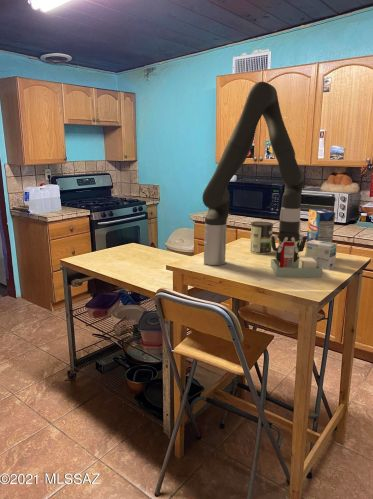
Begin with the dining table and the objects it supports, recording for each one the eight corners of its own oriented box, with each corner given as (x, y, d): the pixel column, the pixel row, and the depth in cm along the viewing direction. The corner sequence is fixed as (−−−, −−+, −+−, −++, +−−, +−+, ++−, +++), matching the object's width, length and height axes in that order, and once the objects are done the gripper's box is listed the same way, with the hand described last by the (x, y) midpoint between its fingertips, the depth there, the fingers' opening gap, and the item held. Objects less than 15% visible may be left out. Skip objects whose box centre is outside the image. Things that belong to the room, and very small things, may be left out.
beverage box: (315, 262, 170) (320, 212, 164) (305, 255, 180) (309, 209, 175) (330, 262, 171) (335, 212, 165) (319, 255, 181) (323, 208, 176)
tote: (276, 277, 148) (277, 268, 148) (270, 268, 161) (271, 258, 160) (321, 278, 148) (322, 268, 147) (311, 268, 161) (312, 259, 160)
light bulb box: (335, 268, 162) (337, 243, 159) (328, 271, 157) (331, 245, 154) (310, 263, 169) (313, 239, 166) (303, 266, 164) (306, 241, 161)
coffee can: (272, 250, 190) (274, 222, 186) (270, 255, 180) (272, 225, 177) (251, 248, 193) (252, 220, 190) (248, 253, 184) (249, 224, 180)
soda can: (283, 265, 158) (286, 237, 155) (295, 268, 154) (298, 239, 151) (276, 268, 154) (278, 239, 151) (288, 271, 150) (290, 241, 147)
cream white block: (302, 274, 151) (303, 262, 150) (298, 269, 158) (299, 257, 156) (315, 274, 151) (317, 262, 150) (310, 269, 158) (311, 257, 156)
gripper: (273, 220, 146) (270, 263, 150) (311, 221, 145) (307, 264, 150) (269, 217, 153) (266, 258, 157) (306, 217, 153) (302, 259, 157)
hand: (286, 261), depth 153 cm, fingers closed on soda can, 5 cm apart
